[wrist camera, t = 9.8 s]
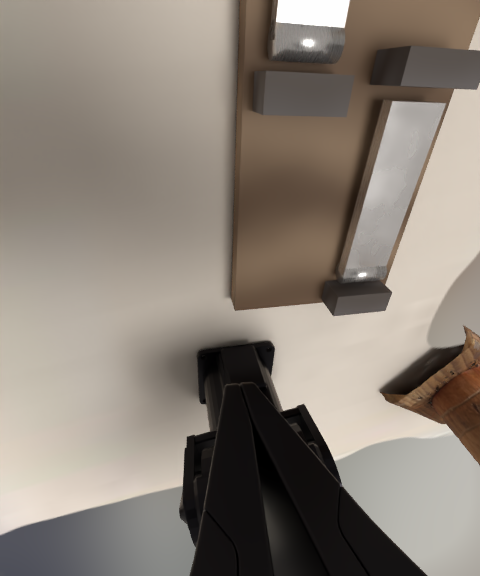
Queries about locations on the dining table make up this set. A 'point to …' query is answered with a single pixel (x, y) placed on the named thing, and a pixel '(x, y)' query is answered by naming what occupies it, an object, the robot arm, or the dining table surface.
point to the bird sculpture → (452, 396)
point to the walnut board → (329, 142)
